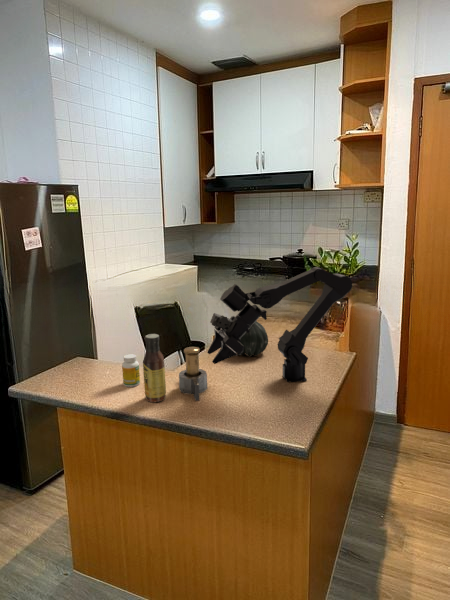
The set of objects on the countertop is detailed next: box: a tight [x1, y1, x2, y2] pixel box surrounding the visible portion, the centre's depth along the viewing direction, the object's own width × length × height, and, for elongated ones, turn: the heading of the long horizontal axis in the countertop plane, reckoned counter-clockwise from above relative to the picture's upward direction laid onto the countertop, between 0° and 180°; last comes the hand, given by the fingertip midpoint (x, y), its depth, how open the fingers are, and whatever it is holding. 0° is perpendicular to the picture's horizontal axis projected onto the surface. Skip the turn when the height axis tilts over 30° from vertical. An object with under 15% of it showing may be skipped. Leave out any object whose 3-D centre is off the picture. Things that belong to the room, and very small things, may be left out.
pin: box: [183, 346, 201, 377], centre depth 138 cm, size 5×5×13 cm
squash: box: [240, 320, 269, 357], centre depth 170 cm, size 14×15×15 cm
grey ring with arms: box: [178, 368, 208, 402], centre depth 139 cm, size 18×8×5 cm, turn 11°
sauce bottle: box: [142, 333, 167, 403], centre depth 130 cm, size 7×6×20 cm
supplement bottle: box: [121, 353, 141, 388], centre depth 143 cm, size 5×5×10 cm
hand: (210, 358), depth 138 cm, fingers open, 9 cm apart
